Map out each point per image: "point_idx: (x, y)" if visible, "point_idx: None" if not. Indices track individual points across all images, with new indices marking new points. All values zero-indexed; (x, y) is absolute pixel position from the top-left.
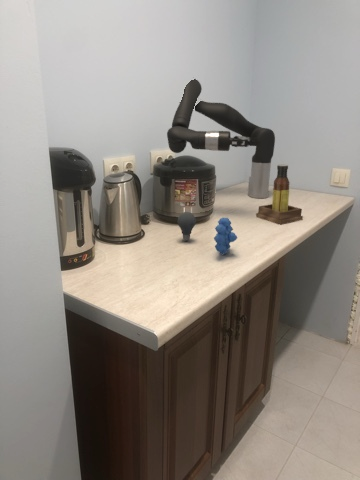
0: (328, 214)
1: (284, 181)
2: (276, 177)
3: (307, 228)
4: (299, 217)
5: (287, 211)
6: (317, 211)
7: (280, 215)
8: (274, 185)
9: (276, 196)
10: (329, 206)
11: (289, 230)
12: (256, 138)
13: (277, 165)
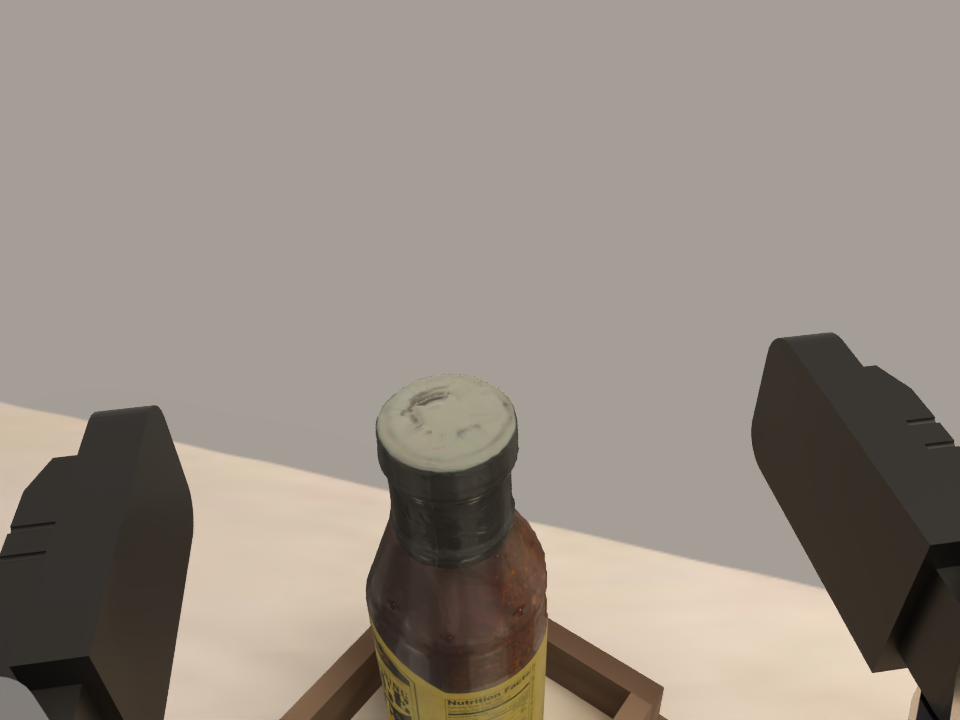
0: (247, 463)
1: (523, 519)
2: (451, 584)
3: (658, 562)
4: None
5: (580, 646)
6: None
7: (656, 707)
8: (503, 650)
9: (537, 684)
10: (13, 457)
11: (781, 664)
12: (136, 469)
13: (452, 473)
